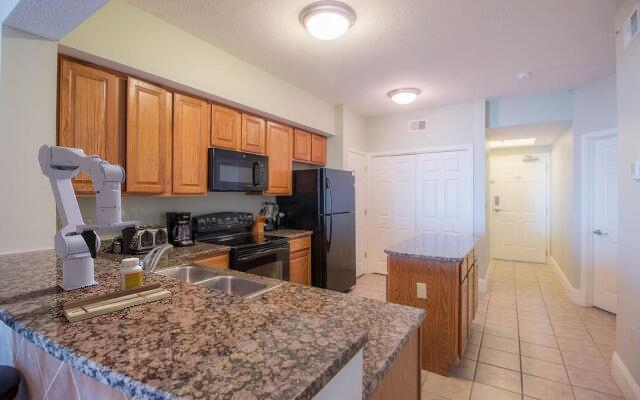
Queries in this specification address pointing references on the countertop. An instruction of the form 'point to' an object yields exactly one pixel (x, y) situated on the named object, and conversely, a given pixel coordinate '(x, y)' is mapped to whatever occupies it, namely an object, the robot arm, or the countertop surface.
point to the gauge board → (113, 301)
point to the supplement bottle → (130, 274)
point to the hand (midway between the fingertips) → (110, 255)
